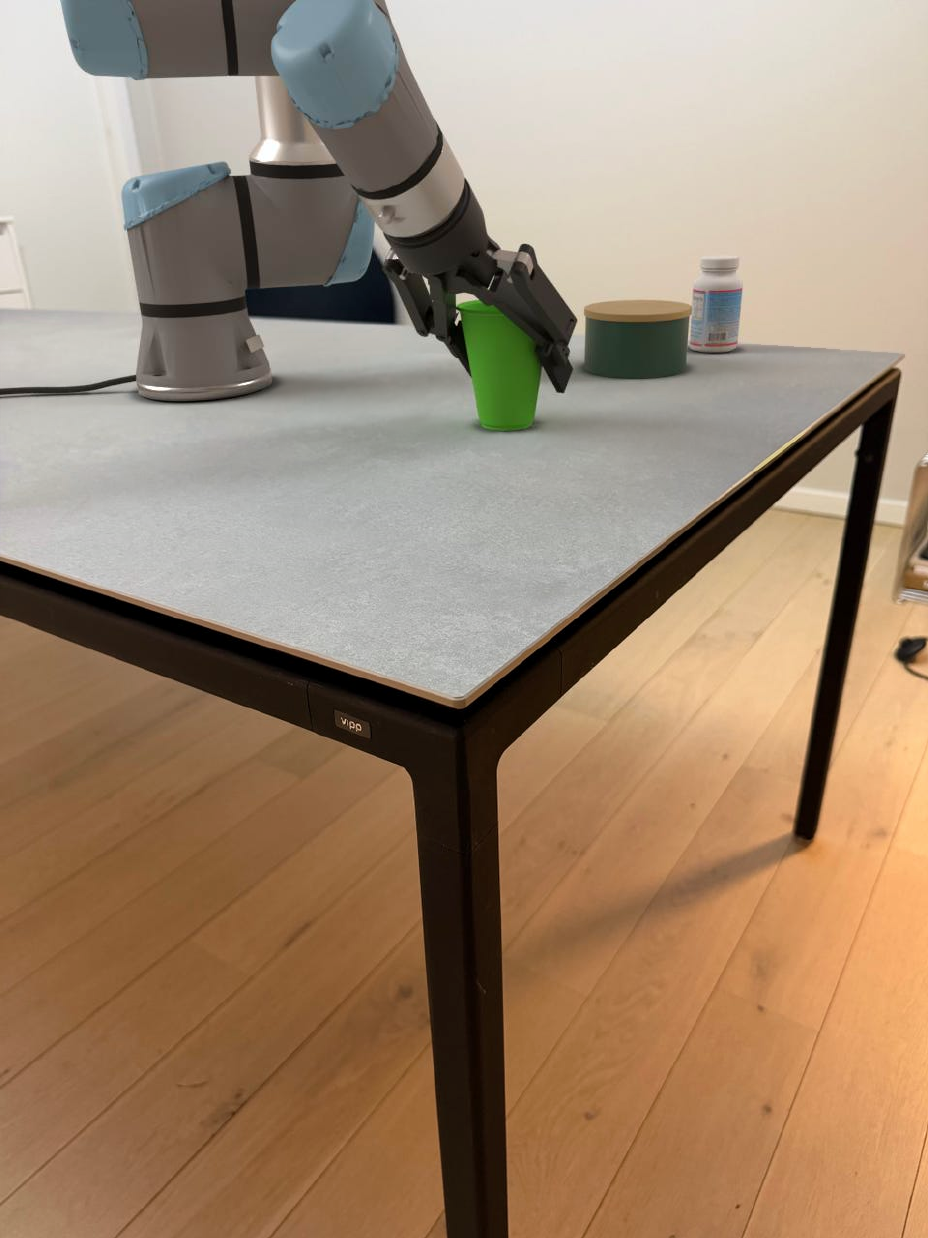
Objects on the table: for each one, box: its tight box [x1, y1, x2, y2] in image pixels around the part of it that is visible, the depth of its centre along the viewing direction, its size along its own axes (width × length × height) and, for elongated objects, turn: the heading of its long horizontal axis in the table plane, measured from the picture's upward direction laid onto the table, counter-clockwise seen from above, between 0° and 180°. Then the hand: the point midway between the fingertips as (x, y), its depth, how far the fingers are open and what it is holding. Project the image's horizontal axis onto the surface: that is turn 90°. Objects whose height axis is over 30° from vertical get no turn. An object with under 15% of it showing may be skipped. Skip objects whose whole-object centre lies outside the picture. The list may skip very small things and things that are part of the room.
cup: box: [456, 299, 543, 432], centre depth 86 cm, size 9×9×11 cm
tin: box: [583, 299, 692, 379], centre depth 109 cm, size 12×12×7 cm
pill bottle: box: [689, 254, 744, 354], centre depth 117 cm, size 6×6×11 cm
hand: (523, 376), depth 89 cm, fingers closed on cup, 8 cm apart
